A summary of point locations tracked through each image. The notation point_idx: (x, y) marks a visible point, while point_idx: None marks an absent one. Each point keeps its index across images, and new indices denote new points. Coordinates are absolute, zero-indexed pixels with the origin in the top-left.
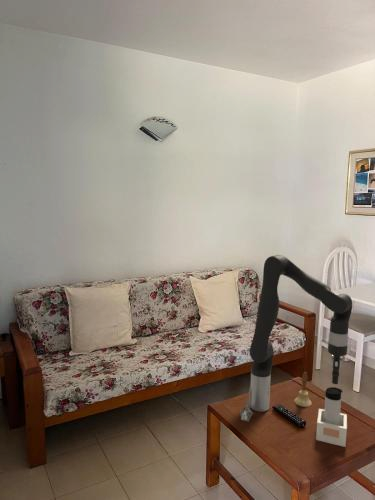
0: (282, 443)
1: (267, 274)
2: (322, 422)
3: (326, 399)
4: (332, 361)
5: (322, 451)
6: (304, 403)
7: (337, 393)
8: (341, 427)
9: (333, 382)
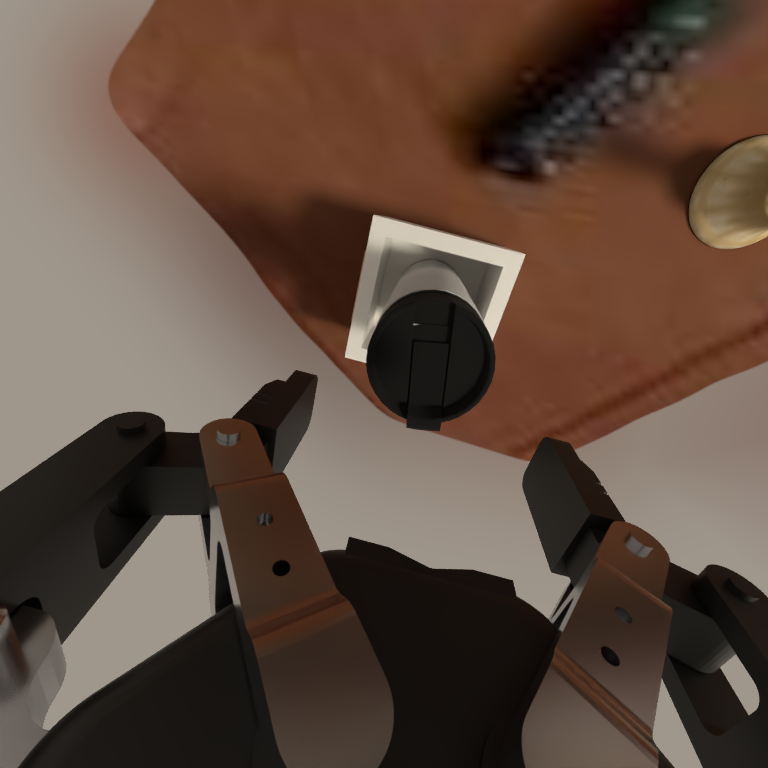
0: (323, 15)
1: None
2: (377, 246)
3: (410, 290)
4: (244, 647)
5: (312, 231)
6: (712, 198)
7: (394, 384)
8: (351, 336)
9: (272, 385)
